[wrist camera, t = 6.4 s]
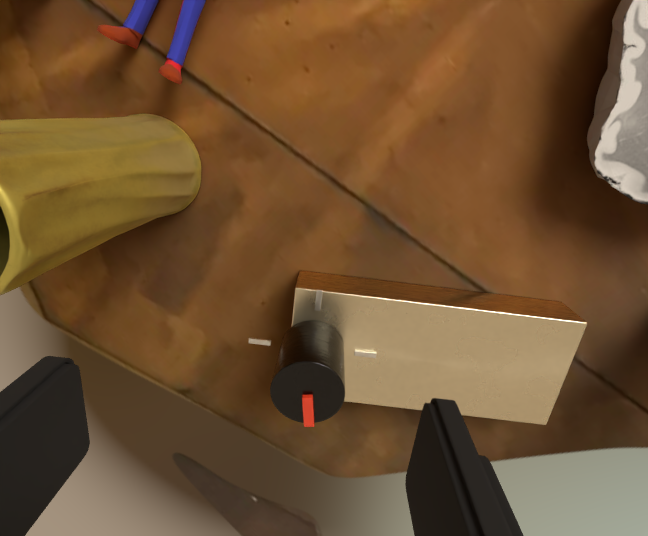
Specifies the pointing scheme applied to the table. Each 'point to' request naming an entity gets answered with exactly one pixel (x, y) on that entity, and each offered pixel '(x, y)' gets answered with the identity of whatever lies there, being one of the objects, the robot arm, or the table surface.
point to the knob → (309, 373)
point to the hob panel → (444, 345)
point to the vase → (85, 185)
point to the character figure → (181, 38)
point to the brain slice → (624, 106)
